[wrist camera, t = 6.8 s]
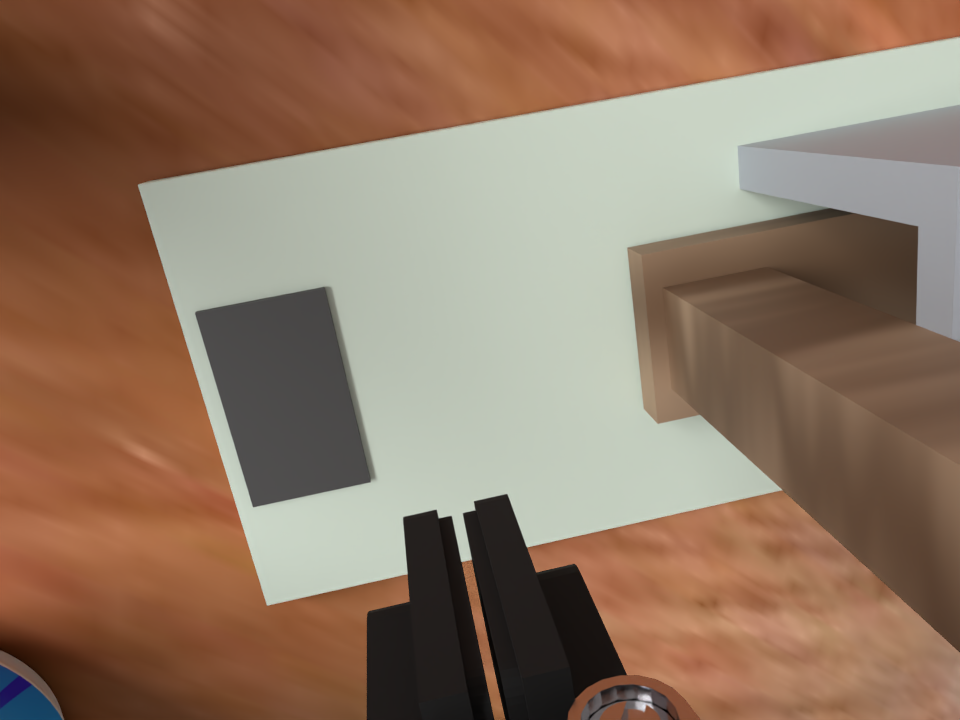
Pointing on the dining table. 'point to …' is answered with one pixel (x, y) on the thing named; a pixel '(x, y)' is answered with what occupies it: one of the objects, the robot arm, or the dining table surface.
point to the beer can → (25, 693)
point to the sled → (818, 382)
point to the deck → (477, 312)
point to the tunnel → (881, 190)
